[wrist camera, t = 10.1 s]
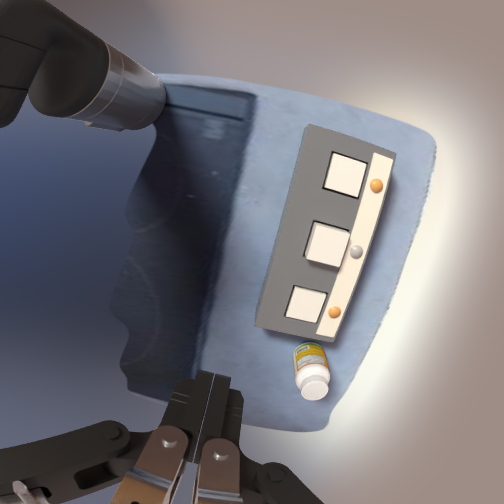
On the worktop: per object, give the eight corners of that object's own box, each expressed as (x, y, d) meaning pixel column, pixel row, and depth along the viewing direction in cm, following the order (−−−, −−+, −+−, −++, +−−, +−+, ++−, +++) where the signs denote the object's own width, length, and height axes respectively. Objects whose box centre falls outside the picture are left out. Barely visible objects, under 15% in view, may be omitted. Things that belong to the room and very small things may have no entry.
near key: (351, 194, 38) (357, 197, 36) (321, 185, 38) (325, 187, 36) (360, 163, 37) (366, 164, 34) (329, 154, 37) (334, 153, 34)
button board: (327, 326, 47) (333, 343, 42) (255, 310, 47) (254, 327, 41) (383, 154, 39) (397, 153, 34) (304, 128, 39) (309, 123, 33)
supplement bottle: (317, 368, 49) (324, 406, 40) (288, 362, 49) (291, 401, 40) (328, 344, 48) (339, 381, 38) (298, 338, 48) (304, 374, 38)
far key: (313, 313, 44) (315, 322, 41) (285, 307, 43) (286, 316, 41) (322, 287, 42) (326, 295, 40) (293, 280, 42) (295, 288, 40)
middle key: (334, 260, 40) (339, 267, 37) (304, 252, 40) (306, 258, 37) (344, 229, 38) (350, 234, 36) (313, 220, 38) (316, 224, 36)
